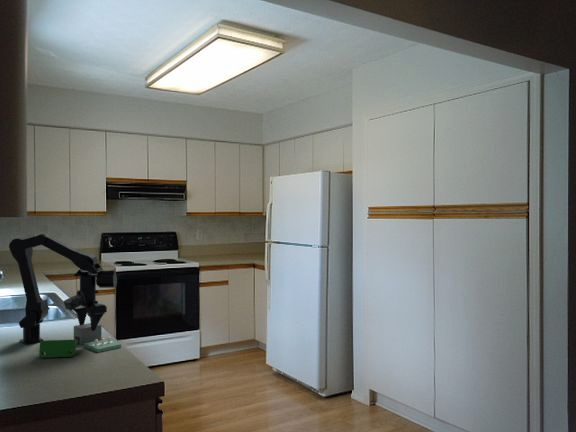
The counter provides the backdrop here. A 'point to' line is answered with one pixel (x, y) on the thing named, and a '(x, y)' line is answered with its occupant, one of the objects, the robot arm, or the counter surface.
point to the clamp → (57, 348)
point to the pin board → (102, 345)
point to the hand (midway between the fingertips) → (87, 328)
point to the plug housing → (87, 333)
